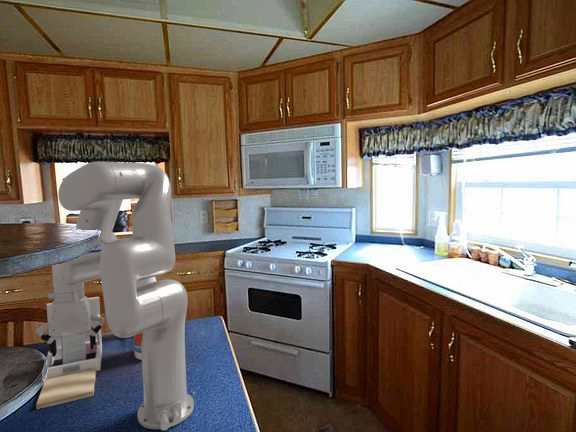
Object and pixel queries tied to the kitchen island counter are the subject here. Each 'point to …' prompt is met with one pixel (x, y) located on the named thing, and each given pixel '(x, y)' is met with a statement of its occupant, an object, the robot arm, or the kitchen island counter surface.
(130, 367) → the kitchen island counter surface
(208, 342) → the kitchen island counter surface
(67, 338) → the supplement box
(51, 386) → the pine board
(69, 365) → the case
